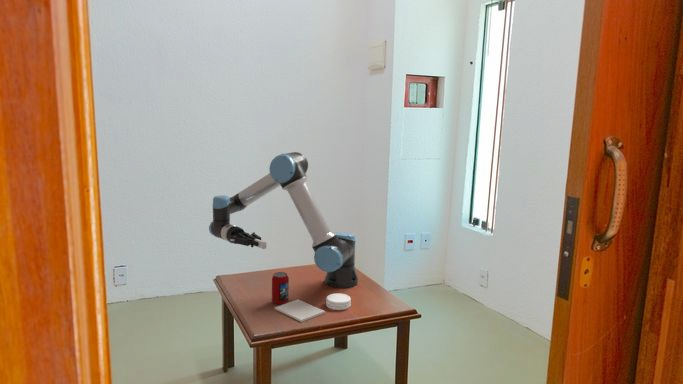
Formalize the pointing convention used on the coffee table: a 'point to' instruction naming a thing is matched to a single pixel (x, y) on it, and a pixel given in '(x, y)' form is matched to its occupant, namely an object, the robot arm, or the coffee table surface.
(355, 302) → the coffee table surface
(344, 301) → the coaster
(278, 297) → the beverage can
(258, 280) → the coffee table surface
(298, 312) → the mat
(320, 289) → the coffee table surface
